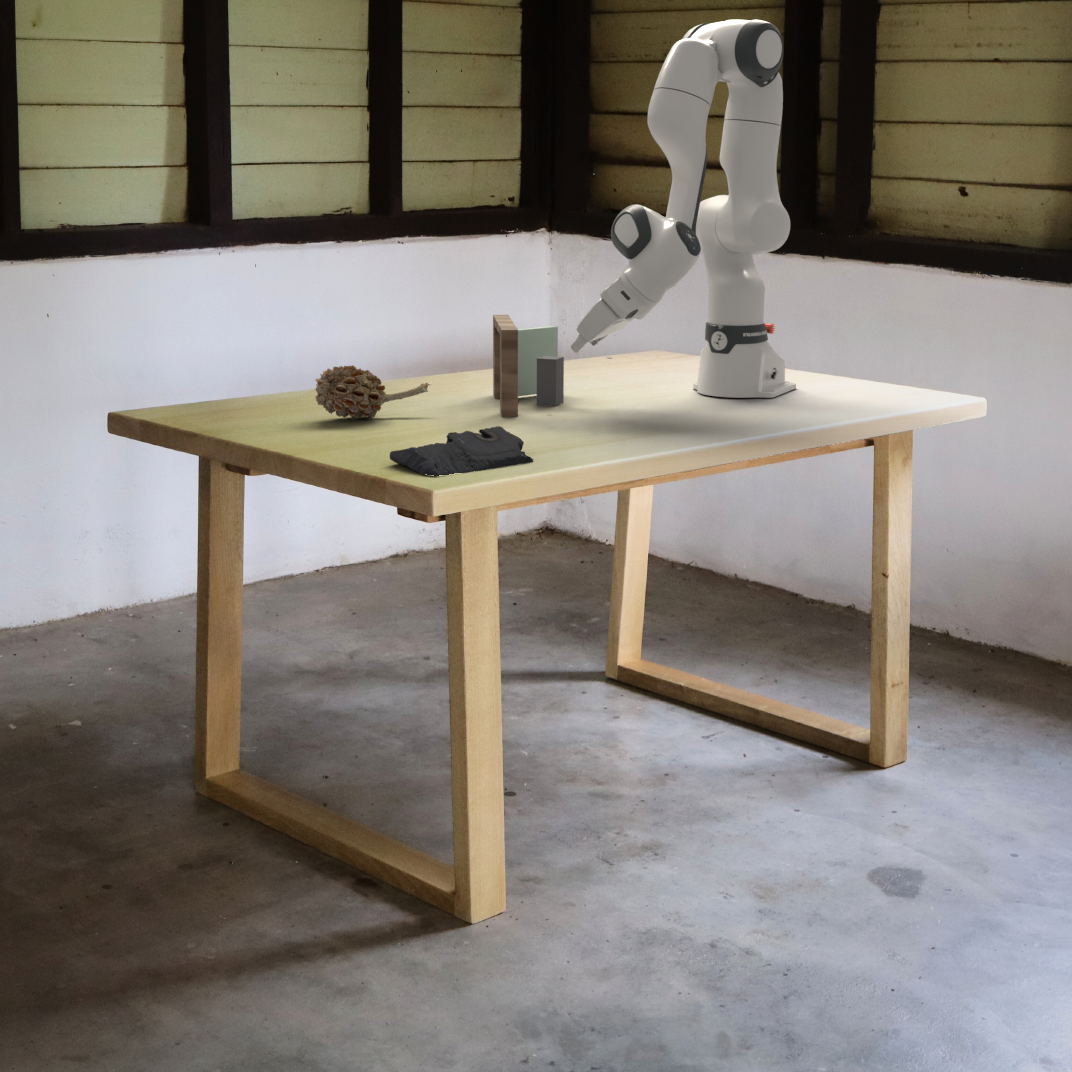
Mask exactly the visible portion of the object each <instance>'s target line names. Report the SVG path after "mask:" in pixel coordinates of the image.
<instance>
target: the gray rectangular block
mask: <svg viewBox="0 0 1072 1072" xmlns="http://www.w3.org/2000/svg"><path fill="white" fill-rule="evenodd" d="M564 359H565V356H559V355H558V356H542V357H539V358H537V394H536V406H546V407H547V406H548V407H550V406H551V407H557V406H560V405H562V404H564V400H565V399H564V398H565V397H564V392H565V391H564V390H565V389H564V387H565V385H564V383H565V380H564V375H565V373H564V372H565V369H564V368H565V360H564Z"/></svg>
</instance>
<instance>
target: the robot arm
mask: <svg viewBox="0 0 1072 1072" xmlns="http://www.w3.org/2000/svg"><path fill="white" fill-rule="evenodd" d="M783 58H784V41H783V38H782V34H781V31H780V29H779V28H778V27H777V26H776V25H775V24H773V23H772V22H768V21H766V20H761V19H752V20H748V19H727V20H725V21H716V22H711V23H710V22H704V23H701V24H698V25H695V26H693V27H692V28H690V29H689V30H688V31H687V32H686V33H685V34H684V36H683V37H682V38H681V39H680V40H678V41H676V42H674V44H673V45H672V46H671V48H670V49H669V52H668V53H667V55H666V58H665V59H664V62H663V63H662V66H661V69H660V71H659V73H658V76H657V79H656V82H655V85H654V87H653V91H652V95H651V97H650V100H649V101H650V102H649V104H648V109H647V127H648V130H649V132H650V134H651V136H652V138H653V140H654V141H655V142H656V144H657V145H658V147H659V148H660V150H662V152H663V154H664V156H665V157H666V159H667V161H668V164H669V167H670V170H671V175H672V176H671V179H672V181H671V186H670V192H669V197H668V203H667V208H666V215H665V216H663V215H661V214H660V213H659V212H657V211H654V210H653V209H650V208H648V207H646V206H645V205H642V204H636V203H635V204H631V205H629V206H627V207H625V208H624V209H622V210H621V211H620V212H619V213H618V214H617V215H616V217H615V219H614V220H613V223H612V226H611V229H610V237H611V242H612V245H613V246H614V247H615V249H616V250H617V251H618V252H619V253H620V254H621V255H622V256H623V257H624V258H626V259H627V260H628V266H626V268H624V269H623V271H621V273H620V274H618V275H617V277H616V278H615V279H614V280H613V281H612V282H611V283H610V284H609V285H608V286H607V287H605V289H604V290H602V291H601V292H600V294H599V295H600V298H599V299H598V301H596V302H595V303H594V305H593V306H591V308H590V310H589V311H588V312H587V313H586V314H585V315H584V316H583V318H582V319H581V321H579V323H578V325H577V326H576V331H577V333H578V336H577V338H576V339H575V341H574V342H573V343H572V344H571V345H570V349H571V350H572V351H573V352H574V353H575V354H578V353H579V352H581V351H582V350H583V349H584V348H585V347H586V345H587V344H588V343H590V344H591V346H593V347H594V346H597V345H599V344H600V343H601V342H602V341H604V339H605V338H606V337H608V336H609V335H611V334H614V333H616V332H619V331H622V330H624V329H625V328H626V327H627V326H628V325H629V324H630V323H631V322H632V321H633V320H634V319H637V320H642V319H644V318H645V317H646V316H647V315H648V314H649V313H650V312H651V311H652V310H653V309H654V308H655V307H656V306H657V305H658V304H659V303H660V301H661V300H663V297H664V295H665V294H666V293H667V292H668V291H669V290H670V289H672V288H674V287H675V286H676V285H677V284H678V283H679V282H680V281H681V280H682V279H683V278H684V277H685V276H686V275H687V274H688V273H689V272H690V270H691V269H692V268H693V266H694V265H695V264H696V262H697V261H698V259H699V257H700V255H701V254H702V256H703V261H704V267H705V270H706V275H707V276H706V277H707V282H708V283H707V284H708V287H707V288H708V295H707V296H708V300H707V301H708V303H707V305H708V306H707V307H708V308H707V309H708V310H707V322H706V323H705V328H704V341H705V340H706V343H705V346H704V347H703V348H702V349H701V351H700V358H699V365H698V366H699V367H698V375H697V382H694V383H693V384H692V385H693V386H692V388H693V389H694V390H697V391H696V392H697V393H699V394H700V395H705V396H712V397H719V398H738V399H739V398H740V399H742V398H743V399H745V398H746V399H747V398H749V399H750V398H763V399H765V398H766V399H767V398H768V399H769V398H770V399H772V398H776V397H779V396H780V395H783V394H785V393H788V392H790V391H792V390H795V389H797V384H796V383H795V382H791V381H787V380H786V379H785V378H786V375H785V374H786V367H785V360H784V359H783V357H782V356H781V355H780V354H779V353H778V352H777V351H776V350H775V349H774V348H773V347H772V346H771V344H769V342H768V341H769V337H768V334H769V335H772V334H774V332H775V327H776V326H775V325H774V323H764V318H765V317H764V316H765V315H764V314H765V294H766V292H765V289H766V288H765V282H764V280H763V279H762V277H761V276H760V274H759V272H758V270H757V267H756V264H755V259H754V256H755V255H757V256H758V255H763V254H767V253H770V252H774V251H776V250H778V249H780V248H781V247H782V246H783V245H784V244H785V243H786V241H787V240H788V237H789V235H790V231H791V219H790V215H789V212H788V211H787V209H786V208H785V207H784V205H783V202H782V201H781V197H780V192H779V185H778V176H777V174H778V173H777V164H778V163H777V162H778V153H779V152H778V151H779V143H780V135H781V128H782V121H783V119H782V118H783V109H784V106H783V105H784V104H783V103H784V90H783V88H784V87H783V79H782V76H781V74H780V69H781V66H782V62H783ZM718 82H722V83H723V82H724V83H726V86H727V88H728V89H727V90H728V98H727V102H726V107H725V111H724V113H725V114H724V121H723V129H722V135H721V142H720V150H719V164H720V166H721V168H722V169H723V170H724V172H725V176H726V180H727V187H728V194H719V195H714V196H712V197H708V198H706V199H704V200H702V201H701V199H702V194H703V189H704V182H705V179H706V178H705V177H706V172H707V164H708V149H707V144H706V143H707V141H706V134H707V123H708V116H709V112H710V109H711V106H712V103H713V99H714V95H715V94H714V93H715V89H716V85H717V84H718ZM785 380H786V381H785Z"/></svg>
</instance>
